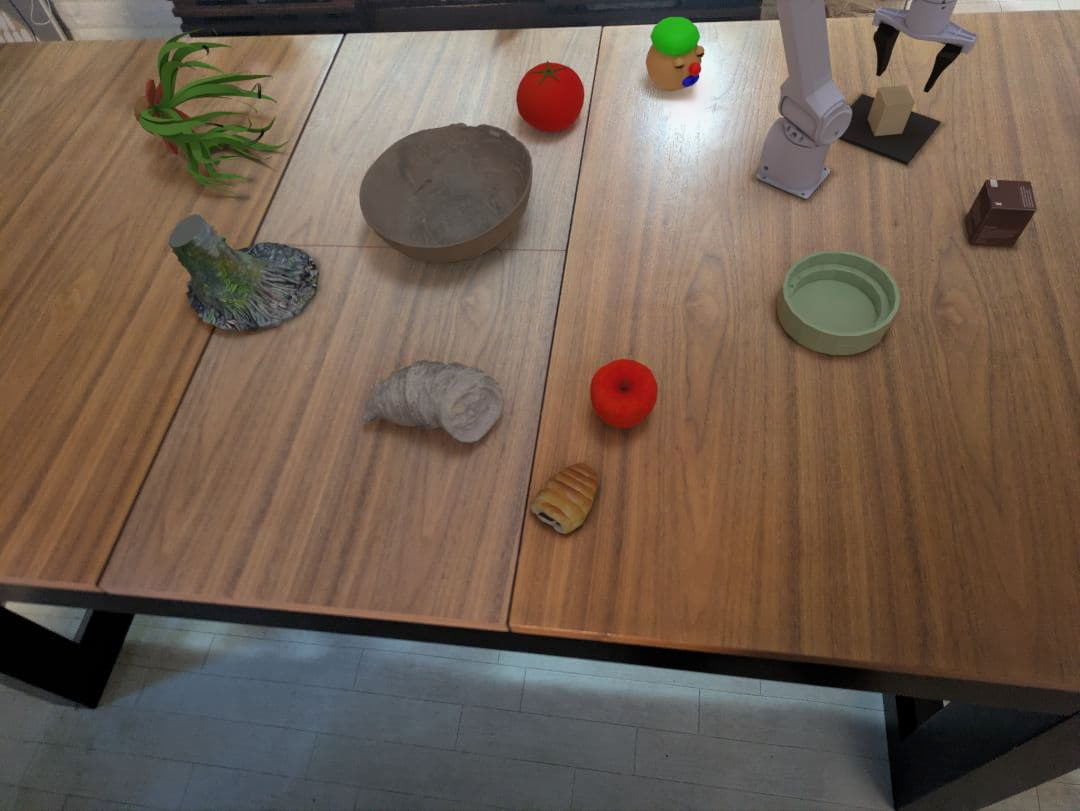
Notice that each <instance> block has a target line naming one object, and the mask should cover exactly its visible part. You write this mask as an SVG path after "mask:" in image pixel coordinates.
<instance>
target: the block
mask: <svg viewBox="0 0 1080 811" xmlns="http://www.w3.org/2000/svg"><path fill="white" fill-rule="evenodd" d="M874 98H875V99H874V101H873V104H872V107H871V110H870V113H869V116H868V122H869V124H870V126H871V129H872V131H873V134H874V136H882V135H892V134H902V132H903V130H904V128H905V125H906V123H907V120H908V118H909V115H910V113H911V111H913V108H914V105H915V100H914V97H913V96H912V93H911V91H910V90H909V87H908V85H907V84H899V85H891V86H883V87H882V86H881V87H878V88H877V90H876V93H875V96H874Z"/></svg>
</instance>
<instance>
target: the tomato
mask: <svg viewBox="0 0 1080 811" xmlns="http://www.w3.org/2000/svg"><path fill="white" fill-rule="evenodd" d="M515 102H516V107H517V111H518V113H519V115H520V117H521V119H522V120H523V122H525V123H526V124H527V125H529V126H530V127H532V128H534V129H536V130H538V131H541V132H545V133H556V132H561V131H563V130H566V129H568V128H570V127H571V126H572V125H573V124H574V123H575V122H576V120H577V119H578V118H579V116H580V113H581V111H582V109H583V107H584V102H585V88H584V83H583V82H582V79H581V78H580V76H579V75H578V73H577V72H576V71H575V70H574V69H573V68H571V67H570V65H569V66H568V65H565V64H562V63H559V62H549V60H548V59H547V60H546V62H542V63H539V64H537V65H535V66H533V67H532V68H530V69H529V70H528V71H526V73H525V74H524V76H522V78H521V80H520V82H519V84H518V86H517V90H516V97H515Z"/></svg>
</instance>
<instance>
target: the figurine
mask: <svg viewBox="0 0 1080 811" xmlns="http://www.w3.org/2000/svg"><path fill="white" fill-rule="evenodd" d="M652 28H653V29H652V31H651V33H650V37H649V38H650V41H651V45H650V47H649V50H648V51H647V54H646V58H645V66H646V72H647V75H648V78H649V79H650V81H651V82H652V83H653V84H654V86H656V88H657V89H660V90H662V91H669V92H675V91H679V90H683V89H686V88H689V87H693V86H694V85H695V84H697V82H698V81H699V79H700V74H701V71H702V66H701V64H702V58H703V57H704V55H705V51H706V49H705V48H704V46H702V45H698V44H699V41H700V39H701V35H700V32H699V29H698V27H697V25H696V24H694V22H692V21H691V20H690V19H689V18H686V17H683V16H669V17H665V18H663V19H661V20H660V21H659V22H658V23H656V24H655V25H654V26H653V27H652Z"/></svg>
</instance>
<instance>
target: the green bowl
mask: <svg viewBox="0 0 1080 811" xmlns="http://www.w3.org/2000/svg"><path fill="white" fill-rule="evenodd" d="M900 303H901V294H900V289H899V286H898V282H896V280H895V278H894V277H893V276H892V274H891V273H890V272H889V270H888V269H886V268H885V267H884V266H882V265H881V264H880V263H879V262H877V261H876V260H874V259H872V258H869V257H867V256H865V255H863V254H861V253H857V252H853V251H848V250H844V249H827V250H826V249H824V250H820V251H816V252H813V253H808V254H806V255H805V256H803V257H801V258H800V259H798V260H796V261H795V262H793V264H792V265H791V266H790V268H789V269H788V270H787V271H786V273H785V275H784V279H783V283H782V285H781V289H780V293H779V296H778V300H777V303H776V310H777V319H778V321H779V322H780V325H781V326H782V328H783V330H784V332H785V333H786V334H787V335H789V336H790V337H791V339H793V340H794V341H795V342H796V343H797V344H799V345H801V346H803V347H805V348H807V349H808V350H811V351H813V352H816V353H821V354H825V355H829V356H851V355H855V354H859V353H863V352H866V351H868V350H870V349H871V348H872V347H874V346H876V345H877V344H879V343H880V342H881V341H882V339H883V338H884V336H885V335H886V333H887V332H888V331H889V328H890V327H891V325H892V323H893V321H894V319H895V317H896V315H897V313H898V311H899V307H900Z"/></svg>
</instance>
